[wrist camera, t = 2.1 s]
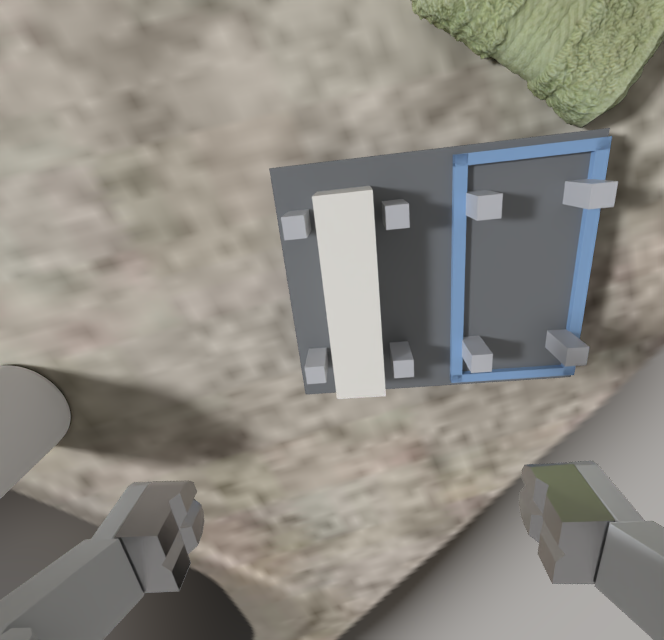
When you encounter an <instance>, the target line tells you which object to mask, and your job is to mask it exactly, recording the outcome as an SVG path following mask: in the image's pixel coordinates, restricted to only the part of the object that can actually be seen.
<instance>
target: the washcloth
mask: <svg viewBox="0 0 664 640" xmlns="http://www.w3.org/2000/svg"><path fill="white" fill-rule="evenodd" d="M411 1H412V9H413V11H414V13H415V14H418V16H419V17H420V20H422V19H423V18H425V19H427V20H428V21H429V23H430V24H434V26H435V27H437V28H438V29H443V30H444V31H445V32H448V33H450V34H451V36H452V37H455V39H456V41H460V42H463V43H464V44H465V45H466V46H468V47H469V49H470V50H472V51H473V52H474V53H475V54H477V55H480V57H481V59H483V58H488V57H492V58H494V59H496V60H497V61H498V62H499V63H500V64H502V65H503V66H505V67H506V68H508V69H509V70H510V71H511V72H512V73H515V74H518V75H519V76H520V77H521V78H522V79H524V80H526V81H527V82H528V83H527V86H528V89H529V90H530V91H531V92H532V93H533V95H534V96H536V97H538V98H539V99H540V100H544V99H545V100H546V103H547V105H548V106H549V107H553V110H554V112H555V113H556V114H558V116H559V117H560V118H562V119H563V120H564V121H565V122H566V123H567V124H570V125H576V126H577V127H580V128H581V127H584V126H585V125H587V124H588V123H589V122H591V121H592V120H594V119H595V118H596V117H598V116H599V115H601V114H603V113H604V112H606V111H608V110H609V109H611V108H613V107H614V106H616V105H617V104H618V103H620V102H621V101H622V100H623V99H624V98H625V96H626V95H627V92H628V90H629V87H630V86H631V85H632V84H634V83H635V82H636V81H637V80H638V78H639V77H640V76H641V74H642V71H643V66H644V65H645V64H646V63H647V62H648V60H649V58H651V57H653V54H654V52H655V51H656V50H657V48H658V47H659V45H660V44H661V42H662V41H663V39H664V0H411Z"/></svg>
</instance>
